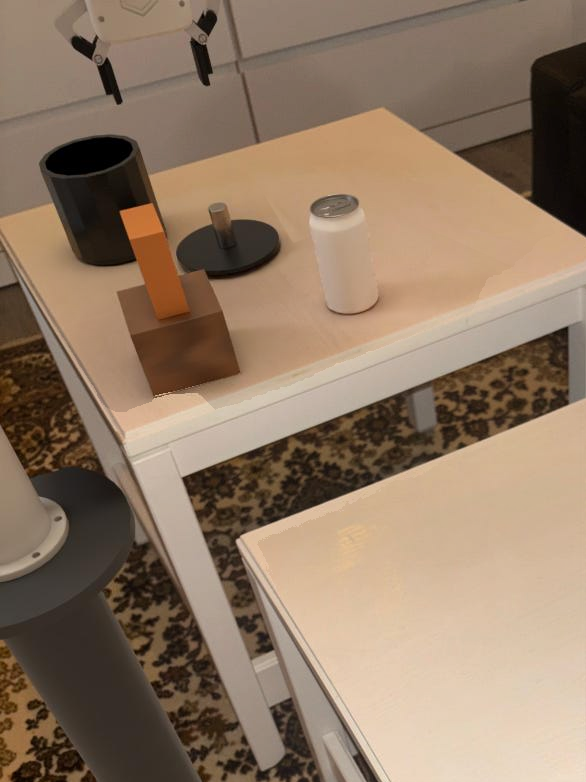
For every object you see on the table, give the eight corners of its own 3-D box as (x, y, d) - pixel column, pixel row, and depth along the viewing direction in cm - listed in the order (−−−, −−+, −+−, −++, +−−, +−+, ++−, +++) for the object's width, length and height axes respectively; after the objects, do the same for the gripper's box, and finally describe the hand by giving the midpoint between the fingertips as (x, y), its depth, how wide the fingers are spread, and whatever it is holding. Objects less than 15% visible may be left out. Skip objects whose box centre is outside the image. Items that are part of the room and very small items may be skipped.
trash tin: (79, 273, 129) (44, 186, 121) (68, 232, 137) (34, 148, 129) (173, 250, 132) (145, 162, 123) (157, 211, 140) (130, 126, 131)
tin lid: (189, 289, 125) (174, 242, 120) (170, 243, 133) (155, 197, 129) (292, 262, 127) (281, 215, 123) (267, 218, 136) (256, 173, 131)
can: (316, 304, 120) (294, 207, 111) (357, 282, 123) (339, 186, 114) (348, 322, 117) (328, 224, 108) (390, 300, 120) (374, 202, 111)
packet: (157, 320, 105) (129, 239, 98) (147, 290, 109) (119, 210, 103) (190, 311, 106) (163, 231, 99) (178, 282, 110) (152, 202, 103)
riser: (154, 398, 110) (129, 335, 104) (139, 353, 116) (116, 291, 110) (241, 374, 112) (222, 310, 105) (222, 331, 118) (203, 268, 112)
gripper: (20, -76, 91) (87, 119, 104) (203, -107, 95) (246, 86, 107) (14, -93, 96) (78, 96, 109) (188, -121, 99) (231, 65, 112)
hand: (162, 91), depth 108 cm, fingers open, 9 cm apart
